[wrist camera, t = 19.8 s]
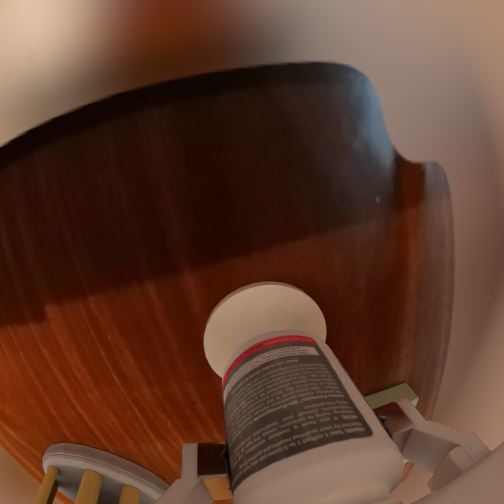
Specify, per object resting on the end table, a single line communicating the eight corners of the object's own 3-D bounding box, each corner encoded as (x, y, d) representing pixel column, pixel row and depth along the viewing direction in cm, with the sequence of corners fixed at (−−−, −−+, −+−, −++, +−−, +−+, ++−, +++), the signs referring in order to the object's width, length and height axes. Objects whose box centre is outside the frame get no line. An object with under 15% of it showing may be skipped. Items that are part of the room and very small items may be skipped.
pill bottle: (201, 393, 12) (207, 590, 3) (261, 305, 12) (357, 545, 2) (291, 422, 14) (346, 576, 4) (353, 350, 13) (471, 502, 3)
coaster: (323, 272, 16) (327, 276, 15) (321, 373, 17) (324, 378, 17) (194, 289, 15) (193, 293, 14) (214, 390, 17) (214, 396, 16)
